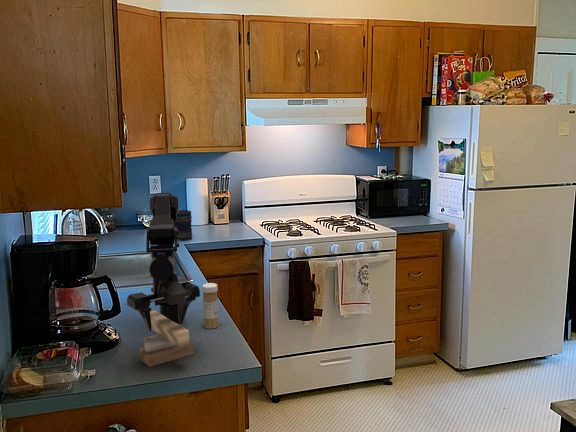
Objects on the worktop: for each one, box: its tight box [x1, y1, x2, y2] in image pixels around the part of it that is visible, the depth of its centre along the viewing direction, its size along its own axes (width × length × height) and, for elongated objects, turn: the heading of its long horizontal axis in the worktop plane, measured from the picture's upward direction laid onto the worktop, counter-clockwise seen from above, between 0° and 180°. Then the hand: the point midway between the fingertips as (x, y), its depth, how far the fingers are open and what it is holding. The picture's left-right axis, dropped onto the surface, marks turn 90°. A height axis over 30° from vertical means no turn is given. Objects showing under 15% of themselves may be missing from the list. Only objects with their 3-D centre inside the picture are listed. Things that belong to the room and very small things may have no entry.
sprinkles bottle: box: [201, 282, 219, 330], centre depth 174 cm, size 5×5×13 cm
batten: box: [144, 310, 190, 346], centre depth 151 cm, size 20×3×4 cm, turn 39°
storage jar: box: [174, 209, 193, 242], centre depth 302 cm, size 10×10×15 cm
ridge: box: [138, 327, 195, 368], centre depth 152 cm, size 6×13×6 cm, turn 129°
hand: (165, 326), depth 151 cm, fingers open, 9 cm apart
